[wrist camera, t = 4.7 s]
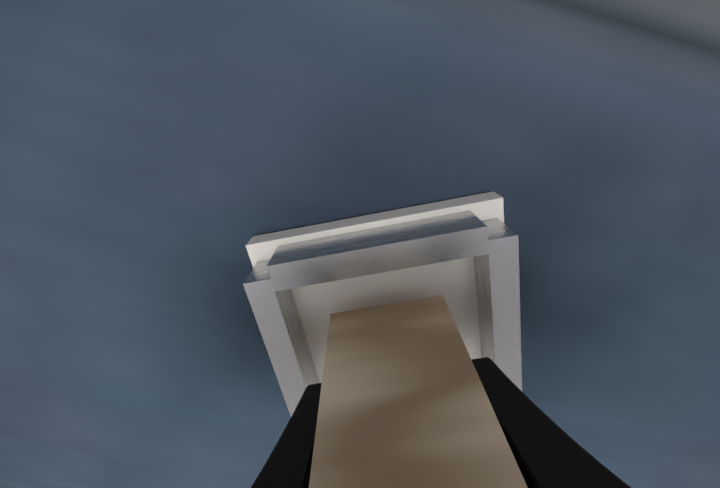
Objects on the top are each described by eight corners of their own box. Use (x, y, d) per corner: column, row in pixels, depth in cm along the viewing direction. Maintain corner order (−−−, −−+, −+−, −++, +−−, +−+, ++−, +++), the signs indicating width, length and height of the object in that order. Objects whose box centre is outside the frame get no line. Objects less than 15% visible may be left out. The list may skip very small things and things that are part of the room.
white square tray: (496, 205, 10) (517, 220, 9) (505, 395, 13) (522, 428, 12) (253, 250, 11) (238, 271, 10) (311, 423, 14) (306, 459, 12)
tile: (493, 191, 11) (503, 197, 10) (503, 382, 14) (510, 398, 13) (252, 236, 12) (245, 245, 11) (310, 411, 15) (308, 427, 14)
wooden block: (442, 294, 11) (578, 602, 4) (453, 382, 12) (567, 719, 5) (330, 313, 11) (289, 634, 4) (352, 397, 12) (347, 737, 6)
